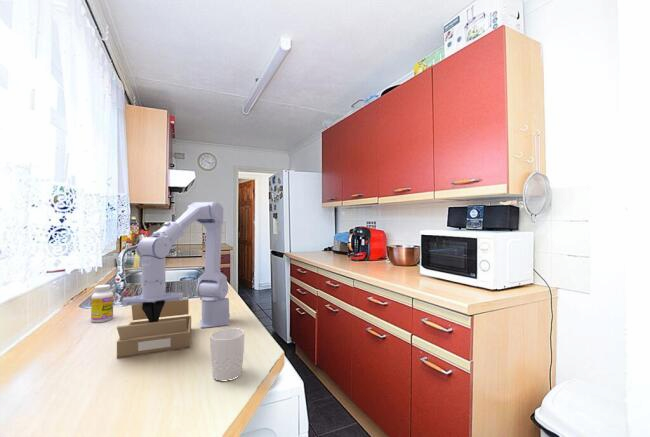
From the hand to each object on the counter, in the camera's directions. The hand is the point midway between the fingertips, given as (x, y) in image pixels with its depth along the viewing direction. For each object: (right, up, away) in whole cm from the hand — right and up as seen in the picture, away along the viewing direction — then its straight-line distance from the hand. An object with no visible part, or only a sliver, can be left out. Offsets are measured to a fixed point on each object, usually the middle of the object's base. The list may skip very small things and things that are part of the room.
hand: (154, 328), depth 85 cm
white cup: (+24, -7, -11) cm, 28 cm away
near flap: (0, 0, -1) cm, 1 cm away
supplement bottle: (-36, -8, +29) cm, 47 cm away
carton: (-4, -7, +9) cm, 12 cm away
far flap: (-6, +1, +15) cm, 16 cm away
